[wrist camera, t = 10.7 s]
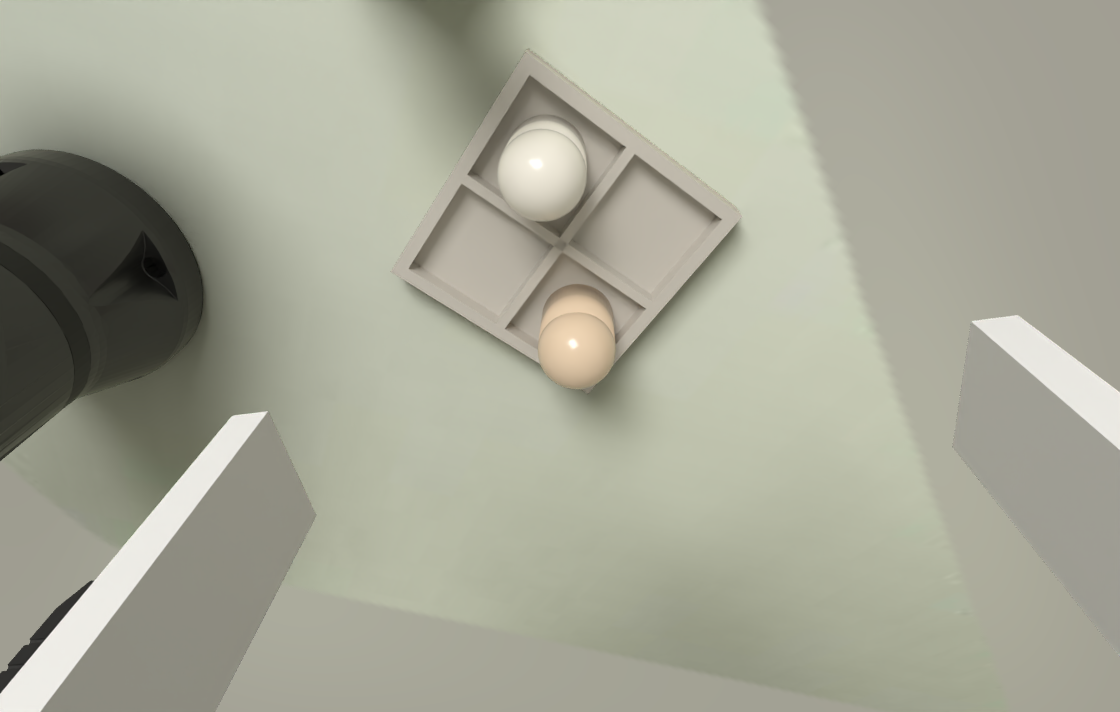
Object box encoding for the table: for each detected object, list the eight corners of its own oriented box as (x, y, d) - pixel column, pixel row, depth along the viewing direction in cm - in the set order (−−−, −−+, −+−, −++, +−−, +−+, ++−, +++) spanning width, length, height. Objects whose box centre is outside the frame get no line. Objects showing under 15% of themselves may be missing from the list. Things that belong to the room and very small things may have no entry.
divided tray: (398, 259, 42) (390, 271, 40) (528, 48, 36) (525, 51, 34) (588, 378, 46) (588, 393, 44) (735, 206, 39) (742, 216, 38)
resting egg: (491, 166, 38) (473, 198, 32) (535, 97, 36) (525, 118, 30) (556, 211, 39) (551, 251, 33) (602, 146, 37) (606, 176, 31)
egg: (528, 323, 43) (519, 377, 37) (569, 270, 41) (566, 318, 35) (584, 359, 44) (584, 417, 38) (627, 310, 42) (634, 362, 36)
